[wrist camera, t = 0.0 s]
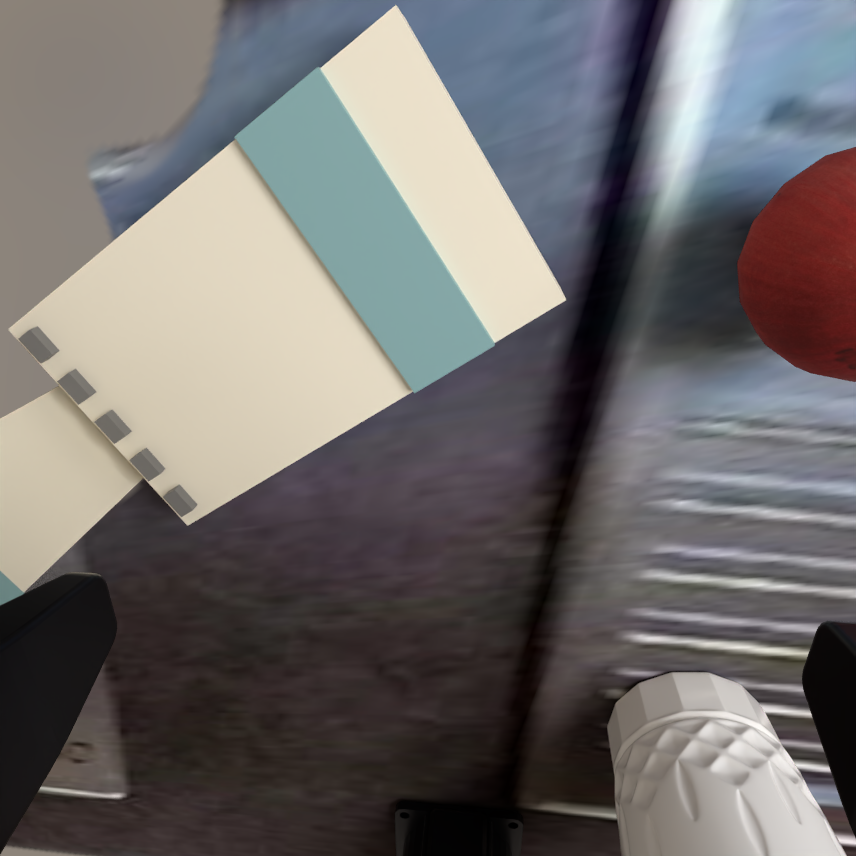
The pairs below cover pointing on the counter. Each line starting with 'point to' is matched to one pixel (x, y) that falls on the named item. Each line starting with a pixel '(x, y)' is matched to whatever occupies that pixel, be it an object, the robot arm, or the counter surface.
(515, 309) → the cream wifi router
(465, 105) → the counter surface
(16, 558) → the cream box
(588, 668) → the counter surface
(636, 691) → the white cup
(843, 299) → the onion
